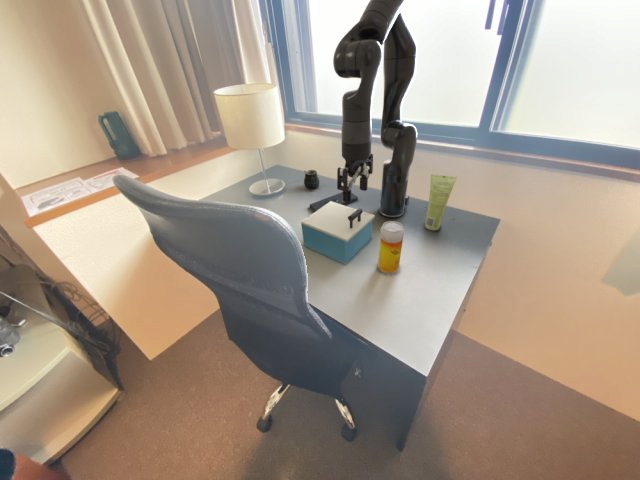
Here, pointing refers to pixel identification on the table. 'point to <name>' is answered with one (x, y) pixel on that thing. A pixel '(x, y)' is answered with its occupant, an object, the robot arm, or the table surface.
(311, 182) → the mate gourd
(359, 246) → the blue open box
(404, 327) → the table surface
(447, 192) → the tube
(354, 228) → the lid
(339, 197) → the smart home device
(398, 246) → the beer can
